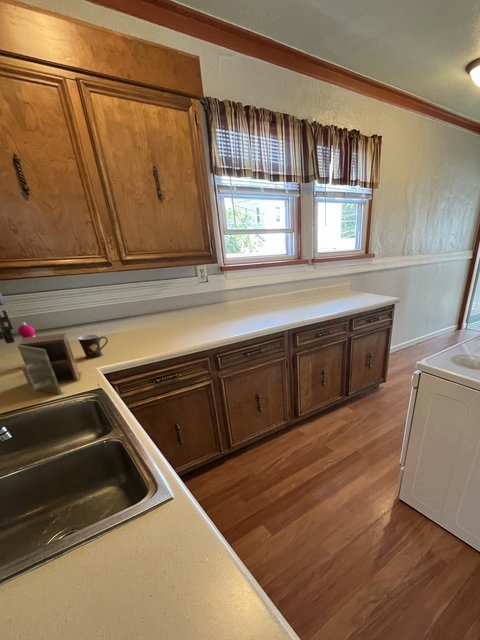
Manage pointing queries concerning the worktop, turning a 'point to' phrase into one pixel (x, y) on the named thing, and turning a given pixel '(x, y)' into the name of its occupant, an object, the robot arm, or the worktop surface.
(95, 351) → the coffee mug
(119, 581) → the worktop surface
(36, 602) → the worktop surface
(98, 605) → the worktop surface
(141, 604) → the worktop surface
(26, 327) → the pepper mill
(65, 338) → the cupboard
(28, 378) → the cupboard door
